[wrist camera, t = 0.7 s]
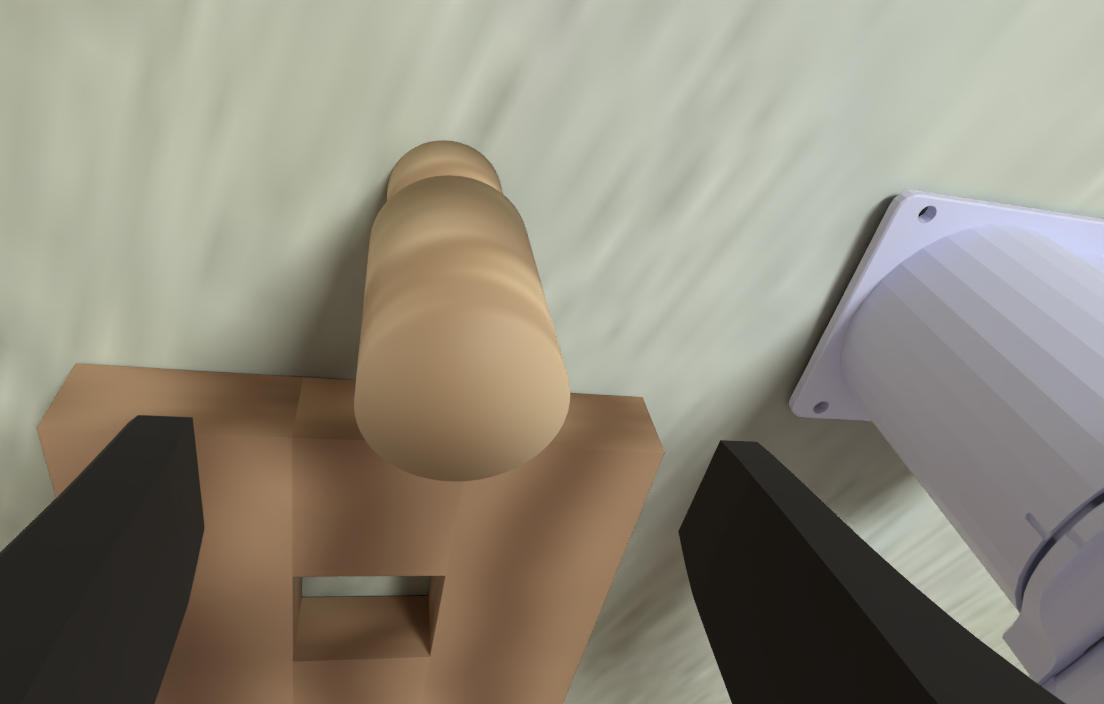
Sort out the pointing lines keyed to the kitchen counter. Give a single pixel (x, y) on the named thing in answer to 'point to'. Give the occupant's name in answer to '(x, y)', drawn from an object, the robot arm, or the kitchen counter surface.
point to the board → (372, 542)
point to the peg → (455, 325)
